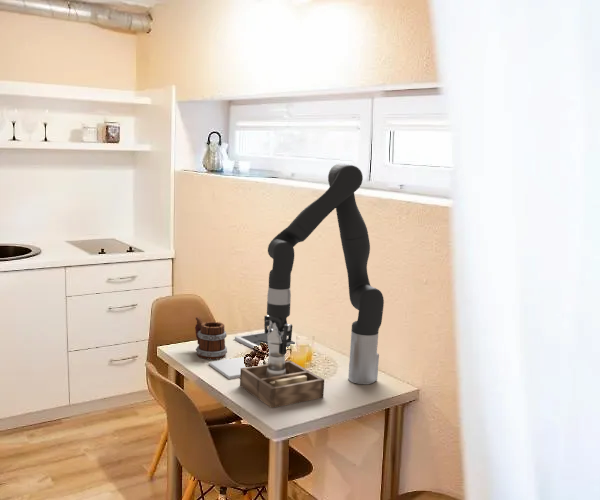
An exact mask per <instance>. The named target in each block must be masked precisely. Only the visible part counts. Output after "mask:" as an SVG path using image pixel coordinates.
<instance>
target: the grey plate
mask: <svg viewBox="0 0 600 500" xmlns="http://www.w3.org/2000/svg"><path fill="white" fill-rule="evenodd" d="M244 357H245V356H241V357H235V358H234V357H233V358H228V359H227V358H226V359H221V360H220V359H218V360H214V361H213V360H212V361H209V362H208V366H210V367H211V368H213V369H214V370H216V371H217V372H218V373H220V374H221V375H223V376H224V377H225V378H227V379H228V380H233V379H237V378H240V373H241V368H246V367H245V364H244Z"/></svg>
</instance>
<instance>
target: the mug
mask: <svg viewBox="0 0 600 500" xmlns="http://www.w3.org/2000/svg"><path fill="white" fill-rule="evenodd" d="M195 320H196V324H195V327H194V329H195V330H194V331H195V337H196V340H197V345H198V346H197V347H196V348H195V351H196V353H197V356H198V358H201V359H205V360H210V361H211V360H212V361H213V360H220V359H223V358H225V357H226V356H227V353H228V346H226V338H227V332H226V331H225V324H224V323H222V322H220V321H217V322H216V321H206V322H204V321H203V319H202V318H201V317H200V316H198V317H195Z"/></svg>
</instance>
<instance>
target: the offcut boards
mask: <svg viewBox="0 0 600 500" xmlns="http://www.w3.org/2000/svg"><path fill="white" fill-rule="evenodd" d="M305 381H307V376H305V375H302V376H296V377H290V378H285V379H279V380H275V381H272V382H269V384H270V385H271V386H273V387H278V386H283V385H289V384H294V383H300V382H305Z"/></svg>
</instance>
